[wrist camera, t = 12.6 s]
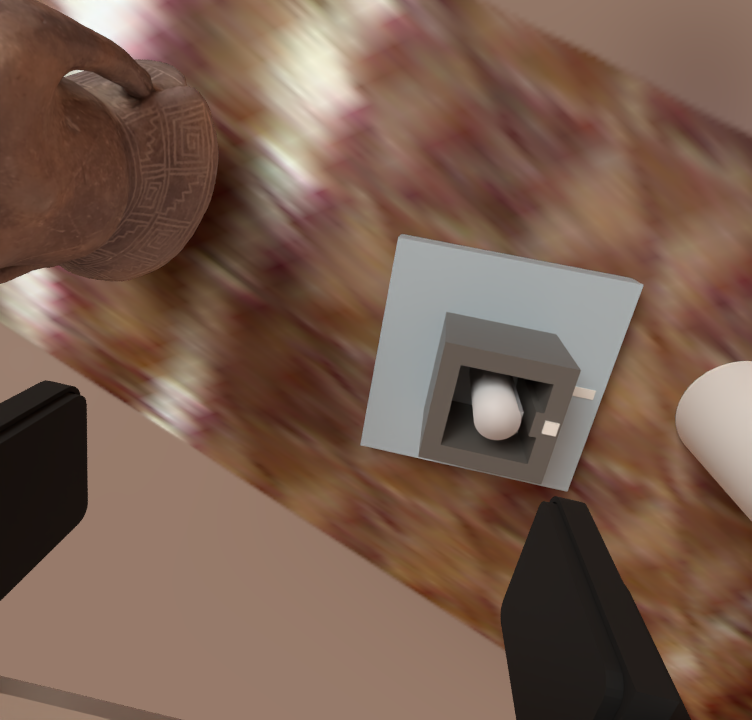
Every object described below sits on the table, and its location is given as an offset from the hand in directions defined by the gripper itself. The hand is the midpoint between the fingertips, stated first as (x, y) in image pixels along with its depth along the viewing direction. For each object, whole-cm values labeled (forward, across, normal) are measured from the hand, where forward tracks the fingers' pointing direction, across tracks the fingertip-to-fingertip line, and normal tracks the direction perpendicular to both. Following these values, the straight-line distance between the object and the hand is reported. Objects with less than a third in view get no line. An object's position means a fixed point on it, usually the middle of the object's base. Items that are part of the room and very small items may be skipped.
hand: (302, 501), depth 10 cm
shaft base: (+23, -7, +4) cm, 25 cm away
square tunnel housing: (+21, -7, +4) cm, 23 cm away
